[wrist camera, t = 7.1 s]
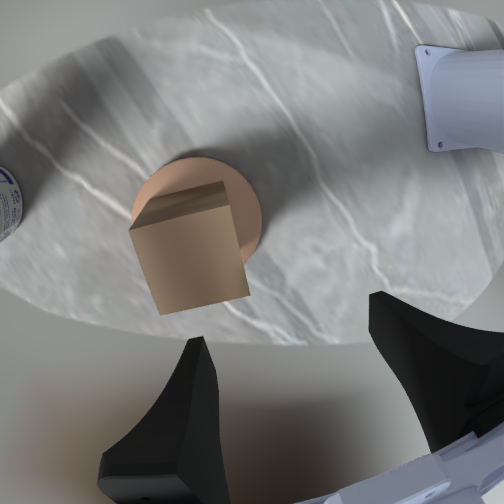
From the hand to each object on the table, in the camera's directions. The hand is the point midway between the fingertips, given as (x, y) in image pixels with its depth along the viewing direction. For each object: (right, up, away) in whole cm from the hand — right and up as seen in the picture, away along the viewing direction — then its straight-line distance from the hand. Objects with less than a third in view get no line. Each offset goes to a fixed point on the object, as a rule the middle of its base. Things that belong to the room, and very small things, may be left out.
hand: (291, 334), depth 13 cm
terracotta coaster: (-5, +5, +7) cm, 10 cm away
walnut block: (-5, +5, +6) cm, 9 cm away
